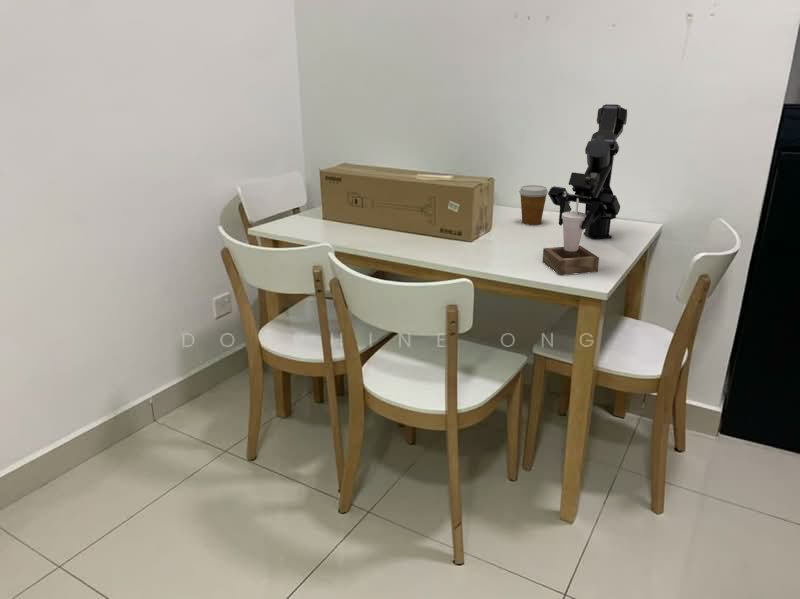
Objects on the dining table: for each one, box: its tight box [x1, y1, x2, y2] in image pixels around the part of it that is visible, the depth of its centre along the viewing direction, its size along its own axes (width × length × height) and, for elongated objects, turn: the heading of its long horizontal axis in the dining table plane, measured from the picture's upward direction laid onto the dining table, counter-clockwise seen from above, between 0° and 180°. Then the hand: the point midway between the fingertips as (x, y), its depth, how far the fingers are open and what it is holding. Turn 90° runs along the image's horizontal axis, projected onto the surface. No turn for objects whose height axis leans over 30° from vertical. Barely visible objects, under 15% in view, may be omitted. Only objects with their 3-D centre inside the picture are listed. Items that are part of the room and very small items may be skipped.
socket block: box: [542, 244, 600, 276], centre depth 166 cm, size 11×11×4 cm
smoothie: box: [561, 198, 586, 252], centre depth 162 cm, size 6×6×14 cm
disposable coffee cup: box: [518, 184, 549, 226], centre depth 206 cm, size 10×10×12 cm
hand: (570, 226), depth 161 cm, fingers closed on smoothie, 6 cm apart
